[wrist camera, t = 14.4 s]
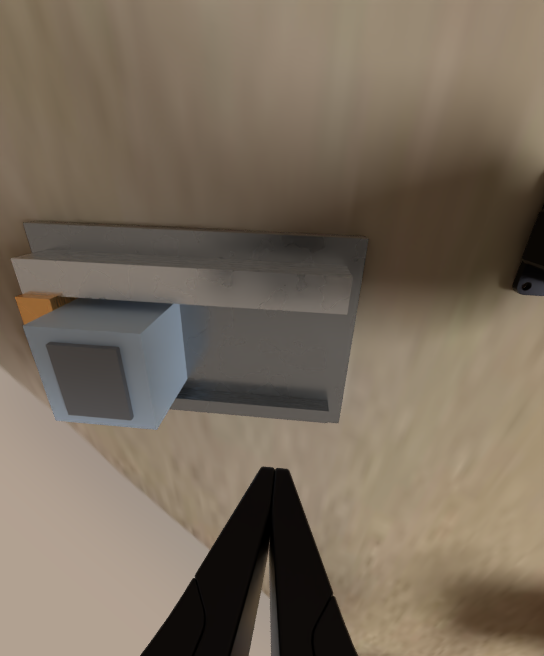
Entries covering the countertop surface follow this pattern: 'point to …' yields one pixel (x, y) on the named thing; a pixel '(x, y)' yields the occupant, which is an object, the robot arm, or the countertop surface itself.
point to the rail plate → (244, 335)
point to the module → (110, 360)
